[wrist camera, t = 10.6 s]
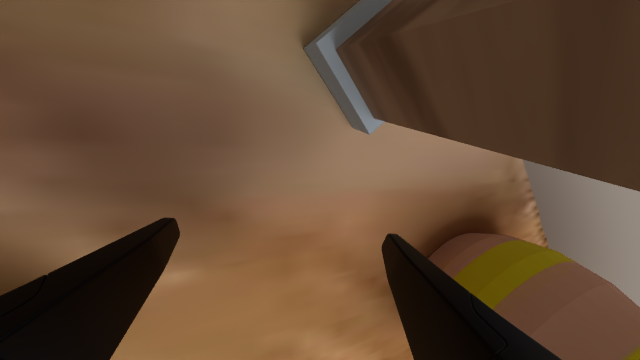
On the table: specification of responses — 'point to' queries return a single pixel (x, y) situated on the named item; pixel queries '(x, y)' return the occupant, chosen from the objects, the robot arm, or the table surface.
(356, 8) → the plinth
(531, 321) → the vase
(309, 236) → the table surface
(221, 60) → the table surface
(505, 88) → the post
